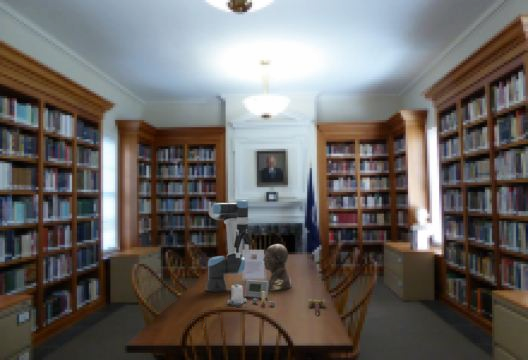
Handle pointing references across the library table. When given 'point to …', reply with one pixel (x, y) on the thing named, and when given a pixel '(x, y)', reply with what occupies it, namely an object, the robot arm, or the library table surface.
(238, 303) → the pad
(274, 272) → the portrait bust
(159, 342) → the library table surface
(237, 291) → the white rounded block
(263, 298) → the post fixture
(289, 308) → the library table surface
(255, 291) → the digital clock
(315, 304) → the gavel
